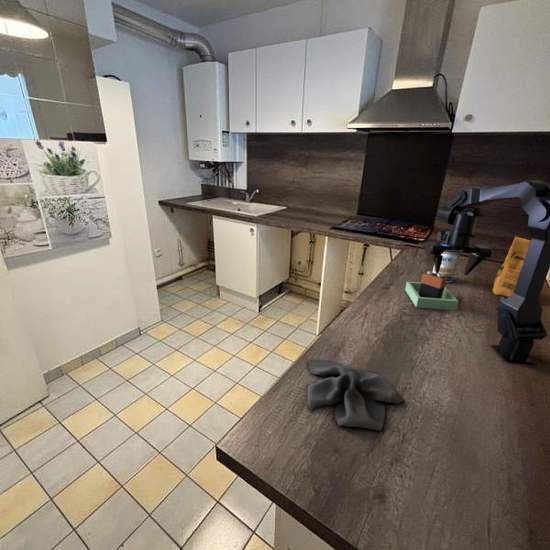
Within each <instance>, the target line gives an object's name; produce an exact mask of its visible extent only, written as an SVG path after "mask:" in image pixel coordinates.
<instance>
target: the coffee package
mask: <svg viewBox="0 0 550 550" xmlns="http://www.w3.org/2000/svg"><path fill="white" fill-rule="evenodd" d="M530 241H531V239H527V238H523V237H519V236H515V237H514V239H513V242H512V243H511V246H510V248H509V250H508V252H507V255H506V257H505V259H504V262H503V263H502V265H501V266H500V268H499V270H498V271H497V274H496V276H495V279H494V283H493V288H492V289H491V290H492V293H493V295H497V296H502V297H504V296H510V295H512V294H513V292H514V290H515V287H516V284H517V281H518V278H519V275H520V272H521V269H522V266H523V262H524V259H525V256H526V253H527V250H528V247H529V244H530Z"/></svg>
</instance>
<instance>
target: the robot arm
mask: <svg viewBox="0 0 550 550" xmlns="http://www.w3.org/2000/svg"><path fill="white" fill-rule="evenodd" d="M517 199H518V200H520V201H521V208H522V209H523V211H524V212H525V214H527V215H528V220H527V229H528V232H529V235H530V240H531V241H530V244H529V247H528V250H527V253H526V256H525V259H524V262H523V266H522V269H521V272H520V275H519V278H518V281H517V284H516V287H515V290H514V292H513V294H512V295H510V296H501V297H500V299H499V304H498V306H497V307H496V308H495V309H496V311H497V315H496V317H497V332H498V333H499V334H501V338H500V340H499V343H498V344H492V348H493V349H494V350H495V352H496V353H497V354H498V355H499V356H500V357H501V359H502V360H503V361H504V362H509V363H510V362H511V363H520V364H530V365H531V364H533V363H534V361H533V360H532V359H531V358H530V357H529V356H530V354H531V352H532V349H533V347H534V345H535V342H534V341H535V340H540V341H541V340H544V339H545V338H546V337H547V336H548V333H547V330H546V328H545V325H544V323H543V321H542V315H543V305H542V304H541V303H542V302H541V300H540V296H541V293H542V290H543V288H544V285H545V282H546V279H547V277H548V274H549V271H550V185H549V184H548V183H547V182H545V181H542V180H524V181H522V182H516V183H511V184H503V185H498V186H492V187H461V188H460V189H459V190H458V192H457V194H455V196H454V197H453V198H452V199H451V200H450V201H447V202H444V205H443V206H441V207H440V208H439V209H438V211H437V212H436V219H437V221H439V222H441V223H443V224H447V225H449V226H452V228H451V229H450V230H449V231H450V232H449V234H446V232H447V231H443V230H440V231H438V232H437V234H436V242H433V241H428V242H426V244H424V249H423V250H424V251H425V252H426V253H428V255H429V256H432V260H433V266H434V265H435V272H436V273H437V274H438V272H439V270H440V266H441V263H442V259H443V256H442V255H441V254H443V252H459V253H460V254H461V253H462V254H468V260H467V263H466V266H465V269H464V273H463V274H464V276H469V274H470V273H472V271H473V270H474V269H475V268H476V267H477V266H478V265H479V264H481V263H482V262H483V261H487V259H491V258H492V257H493V255H494V251H493V248H491V247H489V246H487V245H485V244H475V243H474V244H472V245H471V246H470V244H471V241H472V238H475V233H474V231H475V228H476V223H477V220H478V218H479V217H484V216H485V214H484V213H483V211H482V210H481V208H480V207H484V206H487V205H489V204H490V203H494V202H502V201H510V200H511V201H512V200H517ZM437 241H438V242H437ZM440 242H441V243H442V244H446V245H448V246H443V245H441V243H440ZM453 249H455V250H453ZM460 249H461V250H460Z"/></svg>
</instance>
